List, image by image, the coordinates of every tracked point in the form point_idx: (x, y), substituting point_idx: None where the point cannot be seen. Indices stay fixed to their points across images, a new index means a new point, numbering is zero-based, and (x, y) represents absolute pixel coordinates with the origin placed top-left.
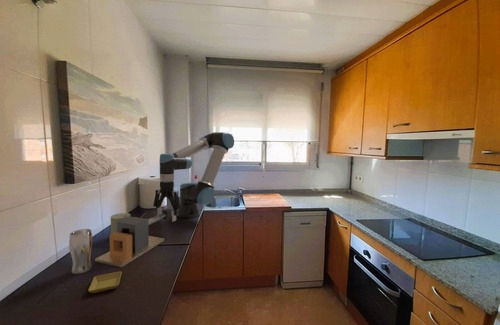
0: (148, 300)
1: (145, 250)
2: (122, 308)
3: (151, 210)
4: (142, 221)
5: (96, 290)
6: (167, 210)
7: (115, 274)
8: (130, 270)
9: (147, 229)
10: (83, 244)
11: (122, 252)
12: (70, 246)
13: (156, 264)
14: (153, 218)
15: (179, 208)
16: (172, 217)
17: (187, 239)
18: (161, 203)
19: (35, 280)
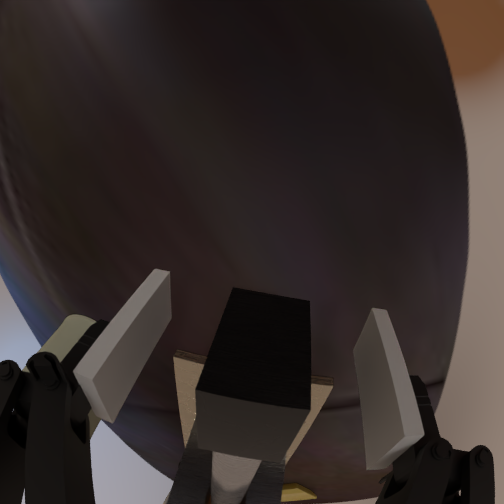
0: (376, 490)
1: (297, 446)
2: (345, 497)
3: None
4: None
5: (287, 498)
6: (284, 455)
7: (288, 487)
8: (306, 475)
9: (279, 498)
10: None
11: None
12: None
13: (361, 461)
14: (242, 488)
15: (472, 457)
16: (362, 387)
17: (452, 345)
18: (67, 449)
19: (158, 469)
